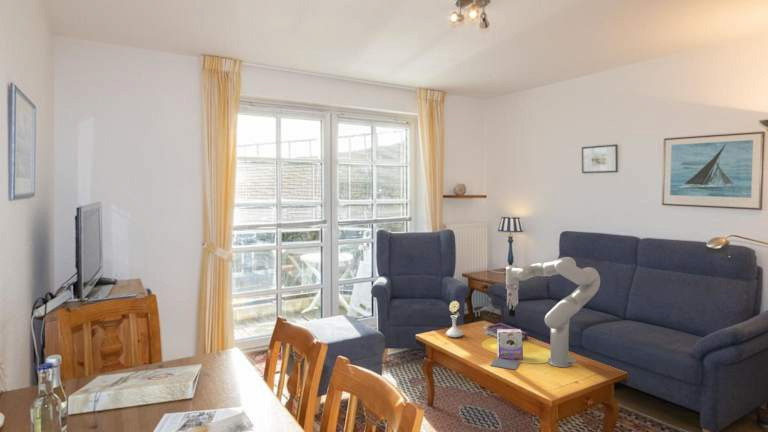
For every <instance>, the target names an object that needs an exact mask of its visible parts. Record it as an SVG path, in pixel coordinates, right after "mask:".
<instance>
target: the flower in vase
mask: <svg viewBox="0 0 768 432" xmlns="http://www.w3.org/2000/svg"><path fill="white" fill-rule="evenodd" d="M448 308H449V311H450V312H451V315H450V318H451V321H452V322H451V323H452V326H451V327H450V328H449V329H448V330H447V331H446V333H445V335H446V336H447V337H450V338H451V337H452V338H460V337H462V336H464V333H463V331H462V330H460V329H459V328H458V327H457V318H458V317H460V316H461V315H460V311H459V312H458V310H459V308H460V302H458V301H457V300H452V301H451V302H450V304H449V307H448ZM455 312H456V313H455ZM452 314H453V315H452Z"/></svg>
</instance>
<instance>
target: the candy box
mask: <svg viewBox="0 0 768 432" xmlns="http://www.w3.org/2000/svg"><path fill="white" fill-rule="evenodd" d="M522 331H523V330H521V328H516V329H497V338H496V340H497V345H496V346H497V358H501V359H507V360H524V351H523V350H524V349H523V348H524V347H523V345H524V344H523V342H524V341H523V340H522Z"/></svg>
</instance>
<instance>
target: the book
mask: <svg viewBox="0 0 768 432" xmlns="http://www.w3.org/2000/svg"><path fill="white" fill-rule="evenodd" d="M482 329H484V330H485V331H484V332H483V334H485V335H487V336H490V337H493V338H495V339H497V329H517V328H516V327H514V326H510V325H507V324H505V323H502V322H499V323H494V324H490V325H485V326H483V327H482ZM521 331H522V341H526V340H528V332H527V331H524V330H521Z"/></svg>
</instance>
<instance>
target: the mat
mask: <svg viewBox="0 0 768 432" xmlns="http://www.w3.org/2000/svg"><path fill="white" fill-rule="evenodd" d="M520 364H521V361H519V360H514V359H501V358H498V357H495V358H494V359H493V361H492V362H491V363H490V365H489V366H490V367H492V368H500V369H505V370H510V371H511V370H512V371H517V368H518V367H519V366H520Z"/></svg>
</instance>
